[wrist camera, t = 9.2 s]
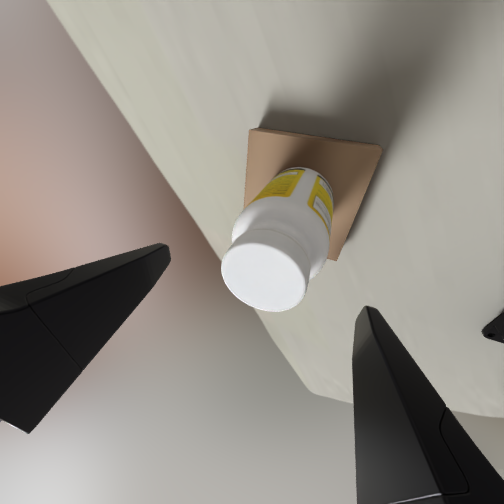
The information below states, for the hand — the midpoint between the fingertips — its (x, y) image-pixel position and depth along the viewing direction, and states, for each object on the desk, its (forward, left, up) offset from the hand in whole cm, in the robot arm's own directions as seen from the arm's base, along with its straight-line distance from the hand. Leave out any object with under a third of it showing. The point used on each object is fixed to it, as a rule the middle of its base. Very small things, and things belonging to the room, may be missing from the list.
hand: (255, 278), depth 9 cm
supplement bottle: (0, 0, -10) cm, 10 cm away
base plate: (0, 0, -12) cm, 12 cm away
